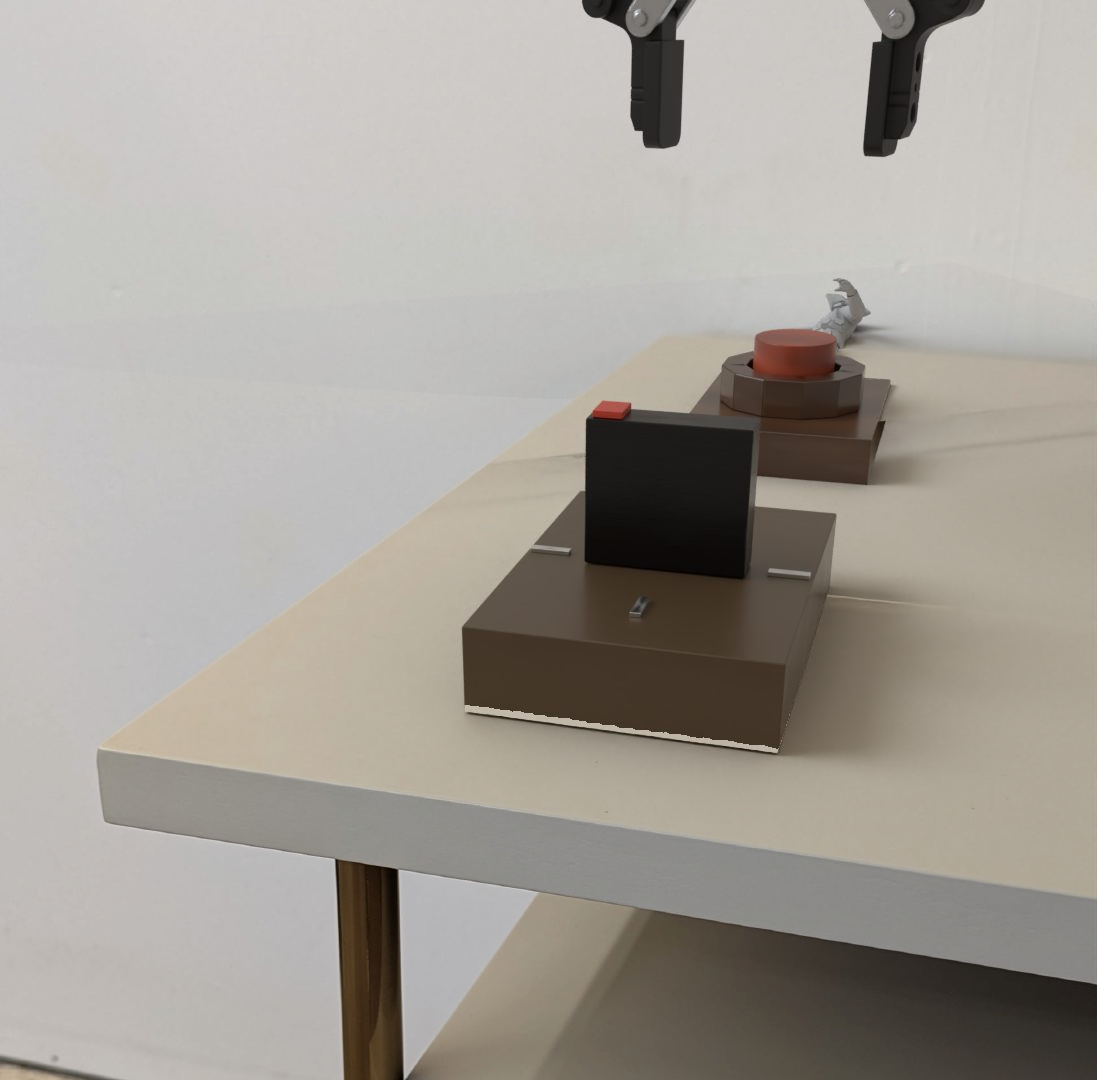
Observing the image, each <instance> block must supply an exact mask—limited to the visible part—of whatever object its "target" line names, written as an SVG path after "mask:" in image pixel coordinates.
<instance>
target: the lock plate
mask: <svg viewBox="0 0 1097 1080" xmlns="http://www.w3.org/2000/svg"><path fill="white" fill-rule="evenodd" d="M836 525H837V513H834V512H826V511H825V512H824V511H815V510H801V509H791V508H780V507H768V506H756V505H755V513H754V527H753V541H752V556H751V563H750V565H749V567H748V569H747V572H746V574H745V576H744V578H735V577H725V576H716V575H706V574H696V573H686V572H676V571H666V570H656V569H647V568H637V567H627V566H617V565H607V564H597V563H588V562H585V561H584V541H585V490H579V492H578V493H577V494H576V495H575V496H574V497H573V498H572V499H571V500H570V502H569V503H568V504H567V505H566V506H565V508H564V509H563V510H562V511H561V512H560V513H559V515H557V517H556V518H555V519H554V520H553V522H551V523H550V525H549V526H548V527H547V528H546V529H545V531H544V532H543V533H542V534H541V535H540V536H539V537H538V539H537V540H536V541H535V542H534V543H533V544H532V546H531V547H530V548H529V549H528V550H527V551H526V552H525V553H524V554H523V556H522V557H521V558H520V559H519V560H518V561H517V562H516V564H515V565H514V566H513V567H512V569H510V571H509V572H508V573H507V574H506V575H505V577H503V578H502V580H501V581H500V582H499V583H498V584H497V585H496V587H495V588H494V589H493V590H492V591H491V592H490V594H489V595H488V596H487V597H486V598H485V599H484V600H483V602H481V604H480V605H479V606H478V607H477V608H476V610H475V611H474V612H473V613H472V614H471V616H470V617H469V618H468V619H467V620H466V621H465V622H464V623H463V624H462V626H461V646H462V647H461V650H462V677H463V679H462V680H463V704H464V705H470V706H479V707H489V708H494V709H500V710H510V711H512V712H513V711H521V712H524V713H533V714H534V715H545V716H547V717H558V718H570V719H572V720H579V721H586V722H587V723H600V724H602V725H615V726H617V727H619V728H633V729H635V730H649V731H651V732H663V733H664V732H667V733H669V734H681V735H687V736H690V737H696V738H703V737H704V738H710V739H712V740H728V741H734V742H737V743H743V744H749V745H765V746H768V747H772V748H776V749H778V748H779V746H780V743H781V740H782V737H783V734H784V735H785V733H784V731H785V732H786V730H785V728H786V729H787V727H786V724H787V721H788V722H789V720H788V718H789V719H790V717H789V714H790V711H791V709H792V710H793V707H794V704H795V701H794V699H795V700H796V698H795V697H797V694H798V691H799V688H800V685H799V684H801V681H802V678H803V675H804V672H803V671H805V668H806V664H807V662H808V659H809V655H810V652H811V649H812V646H813V642H814V639H815V636H816V632H817V629H818V626H819V623H820V619H821V616H822V613H823V610H824V606H825V603H826V600H827V597H828V594H829V590H830V586H831V577H832V567H833V558H834V556H833V555H834V546H835V537H836V527H837V526H836ZM800 680H801V681H800ZM798 687H799V688H798ZM797 690H798V691H797ZM793 703H794V704H793ZM464 705H463V706H464ZM792 706H793V707H792ZM791 712H792V711H791ZM790 715H791V714H790ZM787 725H788V724H787ZM783 738H784V737H783ZM782 741H783V740H782ZM781 744H782V743H781ZM780 747H781V746H780Z"/></svg>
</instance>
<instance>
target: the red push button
mask: <svg viewBox="0 0 1097 1080" xmlns="http://www.w3.org/2000/svg"><path fill="white" fill-rule="evenodd" d="M753 344H754V345H753V351H754V357H753V370H754V371H758V372H763V373H768V374H772V375H786V376H815V375H826V374H829V373H833V372H834V368H835V357H836V355H837V352H836V346H837V338H836V337H835V336H833V335H832V333H831V334H828V333H825V332H820V331H814V330H813V329H803V328H776V329H768V330H764V331H761V332H758V333H756V334H755V337H754V343H753Z"/></svg>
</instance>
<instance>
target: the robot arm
mask: <svg viewBox="0 0 1097 1080" xmlns="http://www.w3.org/2000/svg"><path fill="white" fill-rule="evenodd" d="M696 1H697V0H581V4H582V9H583V10H584V12H585V14H586V15H587V16H588V17H590V18H592V19H602V20H604V21H606V22H608V23H610V24H613V25H615V26H617V27H619V28H620V29H622V30H624V31H625V33H626V35H627V36H628V38H629V41H630V44H631V58H630V59H631V61H630V62H631V63H630V65H631V66H630V68H631V69H630V88H631V89H630V112H629V117H630V121H631V124H632V126H633V130H634V132H642V143H643V146H644V148H645V149H656V150H657V149H661V150H664V149H670V148H673V147H677V146H678V145H679V142H680V141H681V136H682V117H683V116H682V115H683V90H684V89H683V88H684V65H685V64H684V61H685V60H684V58H685V56H684V55H685V39H677V30H678V28H679V27H680V25H681V24H682V22H683V21H684V19H685V18H686V16H687V15H688V14H689V12H690V10H691V9H692V8H693V5H695V3H696ZM863 1H864V3H865V5H866V7H867V8H868V10H869V12H870V13H871V15H872V18H873V19H874V21H875V23H876V24H877V26H878V28H879V29H880V31H881V35H880V36H881V38H880V40H879V41H872V43H871V44H872V45H871V55H870V56H871V57H870V67H869V68H870V69H869V79H868V86H867V87H868V89H867V97H866V98H867V99H866V110H865V122H864V132H863V141H862V142H863V144H862V151H863V152H862V153H863V156H864V157H869V158H871V157H872V158H873V157H874V158H886V157H889V156H892V155H894V154H895V152H896V150H897V147H898V142H899V141H900V140H903V139H906V138H909V137H911V134H912V132H913V130H914V128H915V125H916V124H917V121H918V112H919V102H920V95H921V94H920V91H921V86H922V76H923V66H924V57H925V50H926V49H925V48H926V44H927V41H928V39H929V38H930V36H931V35H932V34H933V32H935V31H936V30H938V29H939V28H941V27H943V26H946V25H949V24H951V23H954V22H957V21H959V20H962V19H964V18H968V17H972V16H974V15H976V14H977V13H978V12H979V11H981V9H982V8H983V6H984V4H985V2H986V0H863Z"/></svg>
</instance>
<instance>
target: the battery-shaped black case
mask: <svg viewBox="0 0 1097 1080" xmlns="http://www.w3.org/2000/svg"><path fill="white" fill-rule="evenodd" d="M760 426H761V420H760V419H759V418H748V417H734V416H721V415H707V414H693V413H690V412H677V411H663V410H651V409H638V408H637V409H636V408H632V402H629V401H614V400H602V401H600V403H598V404H597V405H596V406H595V407H594V408H593V409H592V412H591V413H590V414H589V415H588V416H587V417H586V418H585V448H584V449H585V455H584V457H585V459H584V460H585V461H584V462H585V463H584V491H585V541H584V561H585V562H588V563H597V564H607V565H617V566H627V567H637V568H647V569H656V570H666V571H676V572H686V573H696V574H706V575H716V576H725V577H735V578H744V576H745V574H746V572H747V569H748V567H749V565H750V563H751V556H752V541H753V527H754V513H755V506H756V496H757V484H758V483H757V481H758V476H757V469H758V455H759V440H760Z"/></svg>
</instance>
